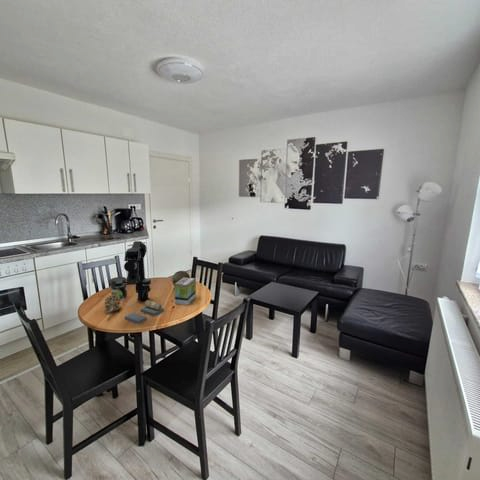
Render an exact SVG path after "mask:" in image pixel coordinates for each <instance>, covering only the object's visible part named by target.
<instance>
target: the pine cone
mask: <svg viewBox="0 0 480 480" xmlns="http://www.w3.org/2000/svg"><path fill="white" fill-rule="evenodd" d="M119 298H120V297H119V295H118V296H117V294H114V295H113V294H112V295H111V294H110V295H108V296H107V297H106V298H105V301H104V308H105V310H106V312H105V313H106V314H110V313H113V312H116V311H118V309H119V308H120V306H121V301H122V300H121V299H119Z"/></svg>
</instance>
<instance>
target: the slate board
mask: <svg viewBox="0 0 480 480" xmlns="http://www.w3.org/2000/svg"><path fill="white" fill-rule="evenodd" d="M139 310H140V313H143V314H145V315H148V316H152V317H156V316H158V315H159V314H161V313H163V312H164V311H165V308H164V307H163V306H162V307H161V309H160V310H156V309H153V308H149V307H146V306H144V307H141V308H139ZM145 315H142V314H138V313H136V312H131V313H128V314H127V315H124V320H125V321H128V322H131V323H134V324H137V325H141V324H142V323H144V322H147V321H148V318H147V316H145Z"/></svg>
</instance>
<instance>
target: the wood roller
mask: <svg viewBox="0 0 480 480" xmlns="http://www.w3.org/2000/svg"><path fill="white" fill-rule="evenodd" d="M144 307H149V308H153V309H156V310H160V309H161V307H162V308H163V306H162V304H161V303H159V302H155V301H151V300H150V299H148V300H146V301H144Z"/></svg>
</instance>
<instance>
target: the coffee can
mask: <svg viewBox="0 0 480 480" xmlns="http://www.w3.org/2000/svg"><path fill="white" fill-rule="evenodd" d="M126 279H127V277H125V276H117V277H112V278H111V279H110V280H109V281H110V292H111V294H110V296H111V295H112V294H113V295H114V294H117V296H118V295H119V297H120V298H119V299H121V300H120V301H122V300H124V296H123V293H122V291H121V290H120V288H117V287H115V282H117V281H124V282H126ZM124 286H125V292H126V298H128V290H127V285H124Z"/></svg>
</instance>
